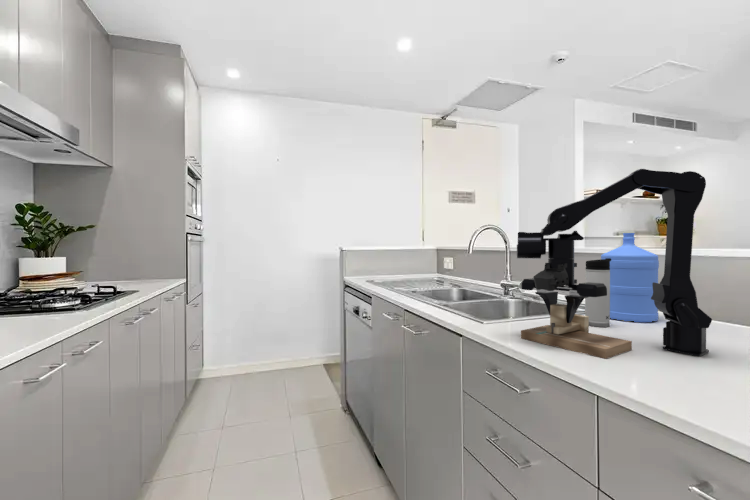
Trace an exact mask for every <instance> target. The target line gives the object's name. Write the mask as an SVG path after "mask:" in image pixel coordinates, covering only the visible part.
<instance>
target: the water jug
mask: <svg viewBox="0 0 750 500" xmlns="http://www.w3.org/2000/svg"><path fill="white" fill-rule="evenodd" d="M635 233H636V232H623V233H622V235H623V237H622V245H621V246H618V247H616V248H614V249H611V250H609V251H607V252H604V253H602V254H601V255H600V259H606V258H610V259H611V261H610V267H609V268H610V318H611V319H610V320H613V319H617V320H616V321H619V320H624V321H623V322H627V321H634V322H633V323H653V322H652V321H655V322H656V321H658V320H659V312H658V311H659V309H657V307H656V306H655V304H654V300H652V299H651V297H652V295H653V286H652V285H653V282H655V283H659V267H660V263H659V262H660V261H659V255H658V254H655V253H653V252H650V251H648V250H646V249H644V248H642V247H638V246H637V245H635V239H636V238H635Z"/></svg>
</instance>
